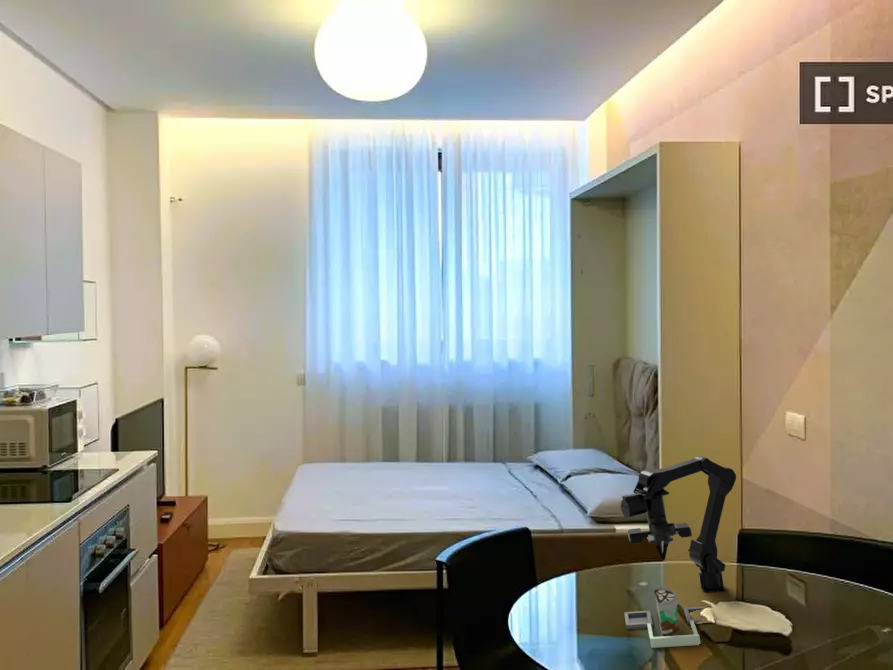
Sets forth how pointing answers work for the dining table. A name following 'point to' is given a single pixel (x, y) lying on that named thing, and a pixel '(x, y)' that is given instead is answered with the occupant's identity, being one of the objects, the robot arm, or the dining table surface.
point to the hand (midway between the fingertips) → (663, 559)
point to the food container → (667, 610)
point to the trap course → (644, 621)
